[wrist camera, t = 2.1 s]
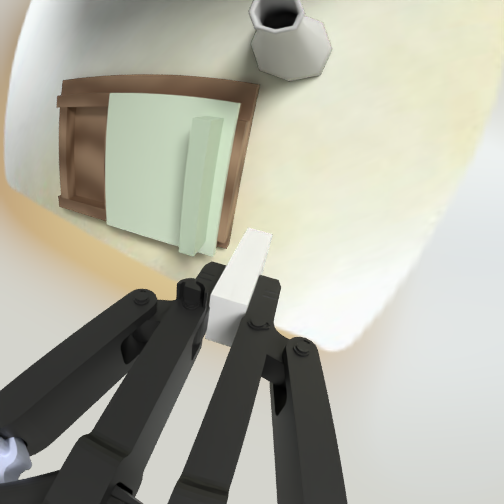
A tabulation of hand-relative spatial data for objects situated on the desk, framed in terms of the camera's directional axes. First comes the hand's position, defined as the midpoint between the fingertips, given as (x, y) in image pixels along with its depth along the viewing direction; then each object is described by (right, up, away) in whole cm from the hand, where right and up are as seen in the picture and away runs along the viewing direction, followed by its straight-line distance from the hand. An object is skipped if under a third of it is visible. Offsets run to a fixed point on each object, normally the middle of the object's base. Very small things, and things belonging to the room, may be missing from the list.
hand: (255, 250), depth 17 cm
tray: (-13, +11, +10) cm, 20 cm away
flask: (+3, +18, +3) cm, 19 cm away
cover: (-9, +8, +8) cm, 15 cm away
